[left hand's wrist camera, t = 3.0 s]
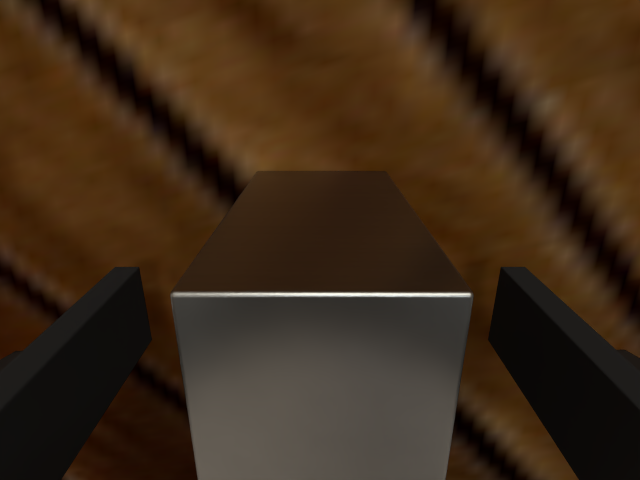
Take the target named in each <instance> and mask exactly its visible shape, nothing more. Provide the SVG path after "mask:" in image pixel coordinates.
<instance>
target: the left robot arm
mask: <svg viewBox="0 0 640 480" xmlns="http://www.w3.org/2000/svg"><path fill="white" fill-rule="evenodd" d="M151 340H152V338H151V332H150V326H149V321H148V315H147V309H146V304H145V298H144V292H143V287H142V281H141V275H140V270H139V267H115V268H114V269H112V270H111V271H110V272H109V273H108V274H107V275H106V276H105V277H104V278H103V279H101V280H100V281H99V282H98V283H97V284H96V285H95V286H94V287H93V288H92V289H90V290H89V291H88V292H87V293H86V294H85V295H84V296H83V297H82V298H81V299H79V300H78V301H77V302H76V303H75V304H74V305H73V306H72V307H71V308H70V309H68V310H67V311H66V312H65V313H64V314H63V315H62V316H61V317H60V318H59V319H57V320H56V321H55V322H54V323H53V324H52V325H51V326H50V327H49V328H48V329H46V330H45V331H44V332H43V333H42V334H41V335H40V336H39V337H38V338H37V339H35V340H34V341H33V342H32V343H31V344H30V345H29V346H28V347H27V348H26V349H24V350H23V351H15V352H13V353H12V354H10V355H8V356H6V357H5V358H3V359H1V360H0V480H61V479H62V477H63V476H64V474H65V473H66V471H67V470H68V468H69V467H70V465H71V463H72V462H73V460H74V459H75V457H76V456H77V454H78V453H79V451H80V450H81V448H82V447H83V445H84V443H85V442H86V440H87V439H88V437H89V436H90V434H91V433H92V431H93V430H94V428H95V427H96V425H97V423H98V422H99V420H100V419H101V417H102V416H103V414H104V413H105V411H106V410H107V408H108V407H109V405H110V403H111V402H112V400H113V399H114V397H115V396H116V394H117V393H118V391H119V390H120V388H121V386H122V385H123V383H124V382H125V380H126V379H127V377H128V376H129V374H130V373H131V371H132V370H133V368H134V366H135V365H136V363H137V362H138V360H139V359H140V357H141V356H142V354H143V353H144V351H145V350H146V348H147V346H148V345H149V343H150V342H151ZM488 340H489V342H490V343H491V345H492V346H493V348H494V350H495V351H496V353H497V354H498V356H499V357H500V359H501V360H502V362H503V363H504V365H505V366H506V368H507V370H508V371H509V373H510V374H511V376H512V377H513V379H514V380H515V382H516V383H517V385H518V386H519V388H520V390H521V391H522V393H523V394H524V396H525V397H526V399H527V400H528V402H529V403H530V405H531V406H532V408H533V410H534V411H535V413H536V414H537V416H538V417H539V419H540V420H541V422H542V423H543V425H544V426H545V428H546V430H547V431H548V433H549V434H550V436H551V437H552V439H553V440H554V442H555V443H556V445H557V447H558V448H559V450H560V451H561V453H562V454H563V456H564V457H565V459H566V460H567V462H568V463H569V465H570V467H571V468H572V470H573V471H574V473H575V474H576V476H577V477H578V479H579V480H640V358H638V357H637V356H635V355H633V354H631V353H630V352H628V351H626V350H616V349H614V348H613V347H612V346H611V345H610V344H609V343H608V342H607V341H606V340H605V339H603V338H602V337H601V336H600V335H599V334H598V333H597V332H596V331H595V330H594V329H592V328H591V327H590V326H589V325H588V324H587V323H586V322H585V321H584V320H583V319H581V318H580V317H579V316H578V315H577V314H576V313H575V312H574V311H573V310H572V309H570V308H569V307H568V306H567V305H566V304H565V303H564V302H563V301H562V300H561V299H559V298H558V297H557V296H556V295H555V294H554V293H553V292H552V291H551V290H550V289H548V288H547V287H546V286H545V285H544V284H543V283H542V282H541V281H540V280H539V279H537V278H536V277H535V276H534V275H533V274H532V273H531V272H530V271H529V270H528V269H526V268H525V267H501V270H500V275H499V281H498V287H497V292H496V298H495V304H494V309H493V315H492V321H491V326H490V332H489V338H488Z"/></svg>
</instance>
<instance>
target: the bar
mask: <svg viewBox="0 0 640 480" xmlns="http://www.w3.org/2000/svg"><path fill="white" fill-rule="evenodd" d="M473 296H474V295H473V292H472V291H471V289H470V288H469V286H468V285H467V284H466V282H465V281H464V279H463V278H462V277H461V275H460V274H459V272H458V271H457V270H456V268H455V267H454V266H453V264H452V263H451V261H450V260H449V259H448V257H447V256H446V254H445V253H444V252H443V250H442V249H441V247H440V246H439V245H438V243H437V242H436V241H435V239H434V238H433V236H432V235H431V234H430V232H429V231H428V229H427V228H426V227H425V225H424V224H423V222H422V221H421V220H420V218H419V217H418V215H417V214H416V213H415V211H414V210H413V209H412V207H411V206H410V204H409V203H408V202H407V200H406V199H405V197H404V196H403V195H402V193H401V192H400V190H399V189H398V188H397V186H396V185H395V184H394V182H393V181H392V179H391V178H390V177H389V175H388V174H387V172H385V171H258V172H256V174H255V175H254V176H253V178H252V179H251V181H250V182H249V183H248V185H247V186H246V188H245V189H244V190H243V192H242V193H241V195H240V196H239V197H238V199H237V200H236V202H235V203H234V204H233V206H232V207H231V209H230V210H229V211H228V213H227V214H226V216H225V217H224V218H223V220H222V221H221V223H220V224H219V225H218V227H217V228H216V230H215V231H214V232H213V234H212V235H211V237H210V238H209V239H208V241H207V242H206V244H205V245H204V246H203V248H202V249H201V251H200V252H199V253H198V255H197V256H196V258H195V259H194V261H193V262H192V263H191V265H190V266H189V268H188V269H187V270H186V272H185V273H184V275H183V276H182V277H181V279H180V280H179V282H178V283H177V284H176V286H175V287H174V289H173V290H172V291H171V294H170V297H171V303H172V310H173V317H174V323H175V330H176V337H177V343H178V350H179V357H180V364H181V370H182V377H183V384H184V390H185V397H186V404H187V410H188V417H189V424H190V430H191V437H192V444H193V450H194V457H195V464H196V470H197V477H198V480H445V478H446V472H447V465H448V459H449V452H450V446H451V439H452V433H453V426H454V420H455V413H456V407H457V400H458V394H459V387H460V381H461V374H462V368H463V361H464V355H465V348H466V342H467V335H468V329H469V322H470V316H471V309H472V302H473Z"/></svg>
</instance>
